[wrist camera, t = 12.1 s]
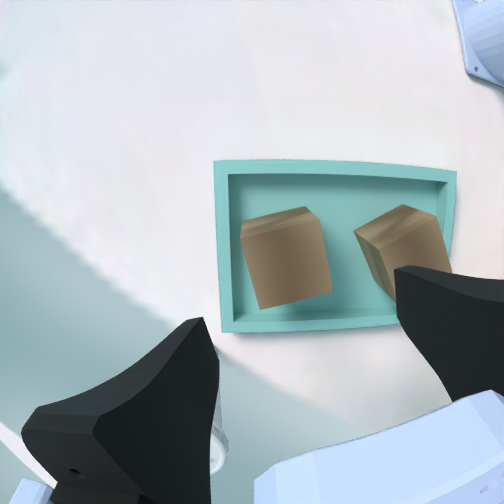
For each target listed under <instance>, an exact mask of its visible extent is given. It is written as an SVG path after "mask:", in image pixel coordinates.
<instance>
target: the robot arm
mask: <svg viewBox="0 0 504 504" xmlns="http://www.w3.org/2000/svg"><path fill="white" fill-rule="evenodd" d="M452 3H453V7H454V11H455V15H456V20H457V24H458V29H459V33H460V38H461V44H462V50H463V56H464V62H465V68H466V71H467V72H468V73H469V74H471V75H473V76H476V77H479V78H482V79H484V80H487V81H490V82H492V83H495V84H497V85H500V86H502V87H504V0H483V1H481V2H477V1H475V0H452ZM474 68H475V69H476V71H475V69H474ZM394 280H395V294H396V312H397V318H398V320H399V322H400V324H401V325H402V327H403V329H404V331H405V332H406V334H407V336H408V337H409V338H410V340H411V341H412V342H413V344H414V345H415V346H416V348H417V349H418V350H419V351H420V353H421V354H422V355H423V357H424V358H425V359H426V360H427V362H428V363H429V364H430V366H431V367H432V368H433V370H434V371H435V372H436V374H437V375H438V377H439V378H440V380H441V381H442V383H443V385H444V387H445V389H446V390H447V392H448V394H449V396H450V398H451V400H452V403H450V404H448V405H446V406H444V407H441V408H439V409H437V410H435V411H432V412H430V413H428V414H425V415H423V416H420V417H418V418H415V419H413V420H410V421H407V422H405V423H402V424H399V425H397V426H394V427H391V428H388V429H385V430H382V431H379V432H376V433H373V434H370V435H367V436H364V437H360V438H357V439H353V440H350V441H346V442H343V443H339V444H335V445H331V446H327V447H323V448H319V449H315V450H311V451H308V452H305V453H303V454H300V455H297V456H294V457H291V458H288V459H285V460H282V461H279V462H278V463H276V464H275V465H273V466H272V467H271V468H270V469H269V470H267V471H266V472H265V473H263V474H262V475H261V476H260V477H258V478H257V479H256V480H255V481H254V504H504V280H497V279H484V278H475V277H469V276H463V275H458V274H453V273H448V272H443V271H439V270H434V269H430V268H425V267H420V266H413V265H407V266H403V267H400V268H396V269H394ZM218 387H219V359H218V356H217V354H216V351H215V348H214V346H213V343H212V340H211V338H210V335H209V332H208V330H207V327H206V324H205V321H204V319H203V317H199V318H194V319H189V320H186V321H185V322H183V323H182V324H181V325H180V326H178V327H177V328H176V329H175V330H174V331H173V332H172V333H171V334H170V335H168V336H167V337H166V338H165V339H164V340H163V341H162V342H161V343H159V344H158V345H157V346H156V347H155V348H154V349H152V350H151V351H150V352H149V353H148V354H146V355H145V356H144V357H143V358H141V359H140V360H139V361H138V362H136V363H135V364H133V365H132V366H131V367H129V368H128V369H126V370H125V371H123V372H122V373H120V374H119V375H117V376H115V377H113V378H112V379H110V380H108V381H106V382H104V383H102V384H100V385H98V386H97V387H94V388H92V389H90V390H88V391H86V392H83V393H81V394H78V395H76V396H73V397H70V398H67V399H65V400H61V401H58V402H54V403H51V404H47V405H43V406H40V407H38V408H36V409H35V411H34V412H33V414H32V415H31V416H30V418H29V419H28V421H27V422H26V423H25V425H24V426H23V428H22V431H21V435H22V439H23V442H24V444H25V446H26V448H27V449H28V451H29V452H30V453H31V454H32V456H33V457H34V458H35V459H36V460H37V461H38V462H39V463H40V464H41V466H42V467H43V468H44V469H45V470H46V471H47V472H48V473H49V474H50V475H51V476H52V477H53V478H54V479H55V480H56V481H57V482H58V483H57V485H56V487H55V489H53V488H52V487H50V486H49V485H46V484H44V483H41V482H37V481H34V480H31V479H27V478H23V479H22V481H21V483H20V484H19V486H18V488H17V490H16V492H15V494H14V496H13V497H12V499H11V501H10V503H9V504H211V490H210V440H211V430H212V424H213V418H214V412H215V406H216V400H217V394H218Z"/></svg>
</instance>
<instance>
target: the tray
mask: <svg viewBox="0 0 504 504" xmlns="http://www.w3.org/2000/svg"><path fill="white" fill-rule="evenodd" d="M456 176H457V171H450V170H442V169H434V168H425V167H416V166H406V165H394V164H382V163H368V162H351V161H328V160H224V161H214V194H215V220H216V242H217V262H218V280H219V297H220V313H221V327H222V333H246V332H289V331H312V330H330V329H345V328H359V327H371V326H382V325H392V324H400V322H399V320H398V318H397V312H396V303H395V302H394V301H393V300H392V299H391V298H390V297H389V296H388V294H387V293H386V292H385V291H384V290H383V289H382V288H381V287H380V286H379V285H378V284H377V283H376V282H375V281H374V279H373V276H372V274H371V271H370V269H369V266H368V264H367V261H366V259H365V257H364V254H363V252H362V250H361V247H360V245H359V243H358V240H357V238H356V236H355V233H354V231H353V230H355V229H357V228H359V227H361V226H363V225H365V224H366V223H368V222H370V221H372V220H374V219H376V218H377V217H379V216H381V215H383V214H385V213H386V212H388V211H390V210H392V209H394V208H396V207H397V206H399V205H401V204H404V205H407V206H410V207H413V208H416V209H419V210H421V211H424V212H427V213H430V214H432V215H435V216H437V219H438V222H439V226H440V229H441V232H442V236H443V239H444V243H445V246H446V250H447V254H448V258H449V252H450V245H451V237H452V229H453V220H454V209H455V195H456ZM302 206H305V207H307V208H308V209H309V210H310V211H311V212H312V213H313V214H314V215H316V216H317V217H318V218H319V219H320V224H321V229H322V234H323V239H324V244H325V249H326V254H327V260H328V265H329V271H330V276H331V282H332V288H333V292H331V293H327V294H324V295H320V296H316V297H312V298H308V299H304V300H300V301H296V302H292V303H288V304H284V305H280V306H276V307H271V308H267V309H263V310H260V309H259V306H258V302H257V299H256V295H255V291H254V288H253V284H252V281H251V277H250V274H249V270H248V266H247V263H246V259H245V256H244V252H243V248H242V245H241V241H240V234H241V228H242V221H245V220H249V219H253V218H257V217H261V216H265V215H269V214H273V213H277V212H281V211H285V210H289V209H293V208H297V207H302Z"/></svg>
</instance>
